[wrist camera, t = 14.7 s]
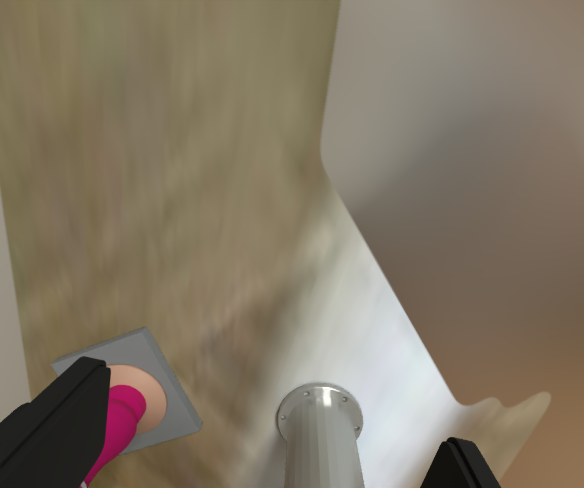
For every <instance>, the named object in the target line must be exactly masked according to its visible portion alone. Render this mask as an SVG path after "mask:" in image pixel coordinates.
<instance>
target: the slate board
mask: <svg viewBox="0 0 584 488" xmlns="http://www.w3.org/2000/svg"><path fill="white" fill-rule="evenodd" d="M82 356H86V357H91V358H95V359H100V360H104V361H105V362H106V367H108V368H110V369H111V379H110V388H111V387H113V386H116V385H128V386H131V387H133V388H136V389H137V390H138V391H139V392H141V394H142V395H143V396H144V398H145V400H146V411H145V413H144V414H143V416H142V418H141V419H140V421H139V422H138V424H137V430H136V434H135V436H134V438H133V439H132V441H131V442H130V444H129V445H128V446H127V447H126V448H125V449H124V450H123V451H122V452H121V453H120V454H119V455H122V454H126V453H129V452H132V451H136V450H139V449H142V448H145V447H149V446H152V445H155V444H159V443H162V442H165V441H169V440H172V439H175V438H179V437H182V436H185V435H188V434H192V433H195V432H198V431H200V428H201V426H202V421H201V420H200V418H199V416H198V414H197V413H196V411H195V409H194V407H193V406H192V404H191V402H190V401H189V399H188V397H187V395H186V394H185V392H184V390H183V388H182V387H181V385H180V383H179V382H178V380H177V378H176V376H175V375H174V373H173V371H172V369H171V368H170V366H169V364H168V363H167V361H166V359H165V357H164V356H163V354H162V352H161V350H160V349H159V347H158V345H157V344H156V342H155V340H154V338H153V337H152V335H151V333H150V331H149V330H148V328H147V326H146V327H143V328H140V329H138V330H135V331H132V332H129V333H127V334H124V335H121V336H118V337H115V338H113V339H110V340H107V341H104V342H102V343H99V344H96V345H93V346H91V347H88V348H85V349H82V350H79V351H77V352H74V353H71V354H68V355H66V356H63V357H60V358H58V359H57V360H56V361H54V362H53V363H52V364H51V366H52V367H53V369H54V370H55V372H56V373H57V375H58V376H60V375H61V374H62V373H63V372H64V371H65V370H66V369H68V368H69V367H70V366H71V365H72V364H73V363H74V362H75V361H76V360H77V359H79V358H80V357H82ZM119 455H118V456H119Z"/></svg>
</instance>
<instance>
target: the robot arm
mask: <svg viewBox="0 0 584 488" xmlns="http://www.w3.org/2000/svg"><path fill="white" fill-rule="evenodd" d="M110 379H111V369H110V368H108V367H106V362H105V361H104V360H100V359H95V358H91V357H86V356H82V357H80V358H79V359H77V360H76V361H75V362H74V363H73V364H72V365H71V366H70V367H69V368H68V369H66V370H65V371H64V372H63V373H62V374H61V375H60V376H59V377H58V378H57V379H56V380H54V381H53V382H52V383H51V384H50V385H49V386H48V387H47V388H46V389H45V390H43V391H42V392H41V393H40V394H39V395H38V396H37V397H36V398H35V399H34V400H33V401H31V402H30V403H25V404H23V405H21V406H19V407H18V408H17V409H15V410H14V411H13V412H12V413H11V414H10V415H9V416H7V417H6V418H5V419H4V420H3V421H2V422H1V423H0V488H79V487H80V485H81V484H82V482H83V481H84V479H85V478H86V476H87V475H88V473H89V472H90V470H91V469H92V467H93V466H94V464H95V463H96V461H97V460H98V458H99V457H100V455H101V453H102V450H103V448H104V445H105V436H106V425H107V413H108V402H109V390H110ZM278 426H279V430H280V433H281V435H282V437H283V438H284V439H285V440H286V442H287V451H286V468H285V486H284V488H365V486H364V480H363V475H362V469H361V464H360V459H359V453H358V448H357V442H356V440H357V438H358V437H359V435H360V433H361V431H362V427H363V416H362V411H361V408H360V406H359V403H358V402H357V401H356V399H355V398H354V397H353V396H352V395H351V394H350V393H349V392H347V391H346V390H344V389H343V388H340V387H338V386H335V385H331V384H326V383H314V384H308V385H304V386H302V387H299V388H297V389H295V390H294V391H292V392H291V393H290V394H289V395H288V396H287V397H286V398H285V399H284V401H283V402H282V404H281V406H280V409H279V414H278ZM420 488H501V487H500V485H499V483H498V481H497V480H496V478H495V476H494V475H493V473H492V471H491V470H490V468H489V466H488V464H487V463H486V461H485V459H484V458H483V456H482V454H481V453H480V451H479V449H478V448H477V446H476V445H475V443H473V442H472V441H468V440H463V439H459V438H454V437H450V438H448V439H447V441H446V442H445V441H444V442H442V443H441V445H440V447H439V449H438V451H437V453H436V455H435V457H434V460H433V462H432V464H431V466H430V468H429V470H428V472H427V474H426V477H425V479H424V481H423V483H422V485H421V487H420Z"/></svg>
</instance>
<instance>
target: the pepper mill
mask: <svg viewBox="0 0 584 488" xmlns="http://www.w3.org/2000/svg"><path fill="white" fill-rule="evenodd" d="M145 411H146V400H145V398H144V396H143V395H142V394H141V392H139V391H138V390H137V389H136V388H133V387H131V386H128V385H116V386H113V387H111V388H110V390H109V402H108V413H107V425H106V436H105V445H104V448H103V450H102V453H101V455H100V457H99V458H98V460H97V461H96V463H95V464H94V466H93V467H92V469H91V470H90V472H89V473H88V475H87V476H86V478H85V479H84V481H83V482H82V484H81V485H80V487H79V488H88V486H89V484H90V482H91V481H92V479H93V478H94V477H95V475H96V474H97V473H98V471H99V470H100V469H101V468H102V467H103V466H104V465H105V464H107V463H108V462H109V461H111V460H112V459H114V458H115V457H116V456H118V455H119V454H120V453H121V452H122V451H123V450H124V449H125V448H126V447H127V446H128V445H129V444H130V442H131V441H132V439H133V438H134V436H135V434H136V430H137V424H138V422H139V421H140V419H141V418H142V416H143V414H144V413H145Z"/></svg>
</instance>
